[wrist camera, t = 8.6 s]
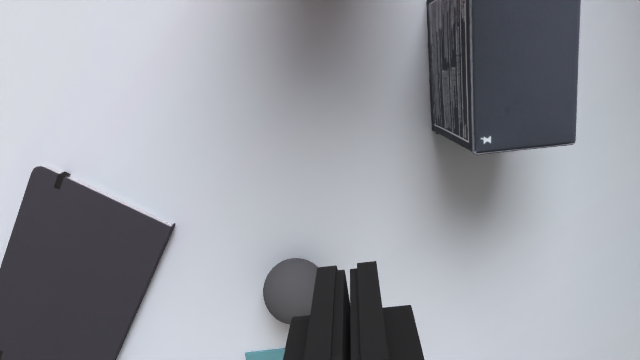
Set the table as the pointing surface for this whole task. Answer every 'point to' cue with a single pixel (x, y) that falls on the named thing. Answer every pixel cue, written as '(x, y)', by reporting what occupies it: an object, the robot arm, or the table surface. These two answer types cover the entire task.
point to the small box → (504, 72)
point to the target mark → (266, 355)
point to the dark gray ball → (290, 289)
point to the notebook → (74, 271)
